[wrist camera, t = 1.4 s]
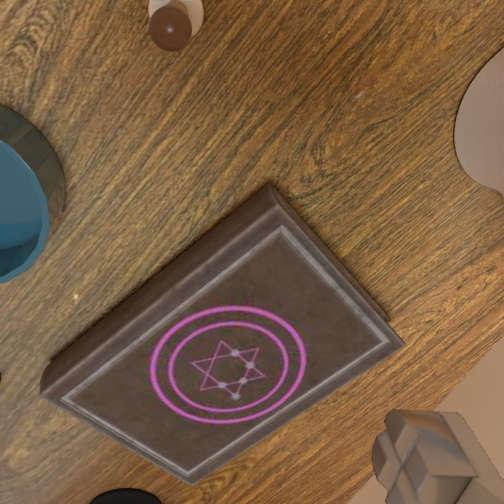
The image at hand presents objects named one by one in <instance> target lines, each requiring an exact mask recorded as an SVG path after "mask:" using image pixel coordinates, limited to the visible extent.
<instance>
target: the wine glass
mask: <svg viewBox="0 0 504 504" xmlns="http://www.w3.org/2000/svg"><path fill="white" fill-rule="evenodd" d="M90 504H161V502H160V501H159V499H158V498H156V497H155V496H154V495H152V494H150V493H148V492H146V491H142V490H138V489H117V490H112V491H108V492H106V493H103V494H101V495H99V496H97V497H96V498H95V499H93V500H92V501H91V503H90Z"/></svg>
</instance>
